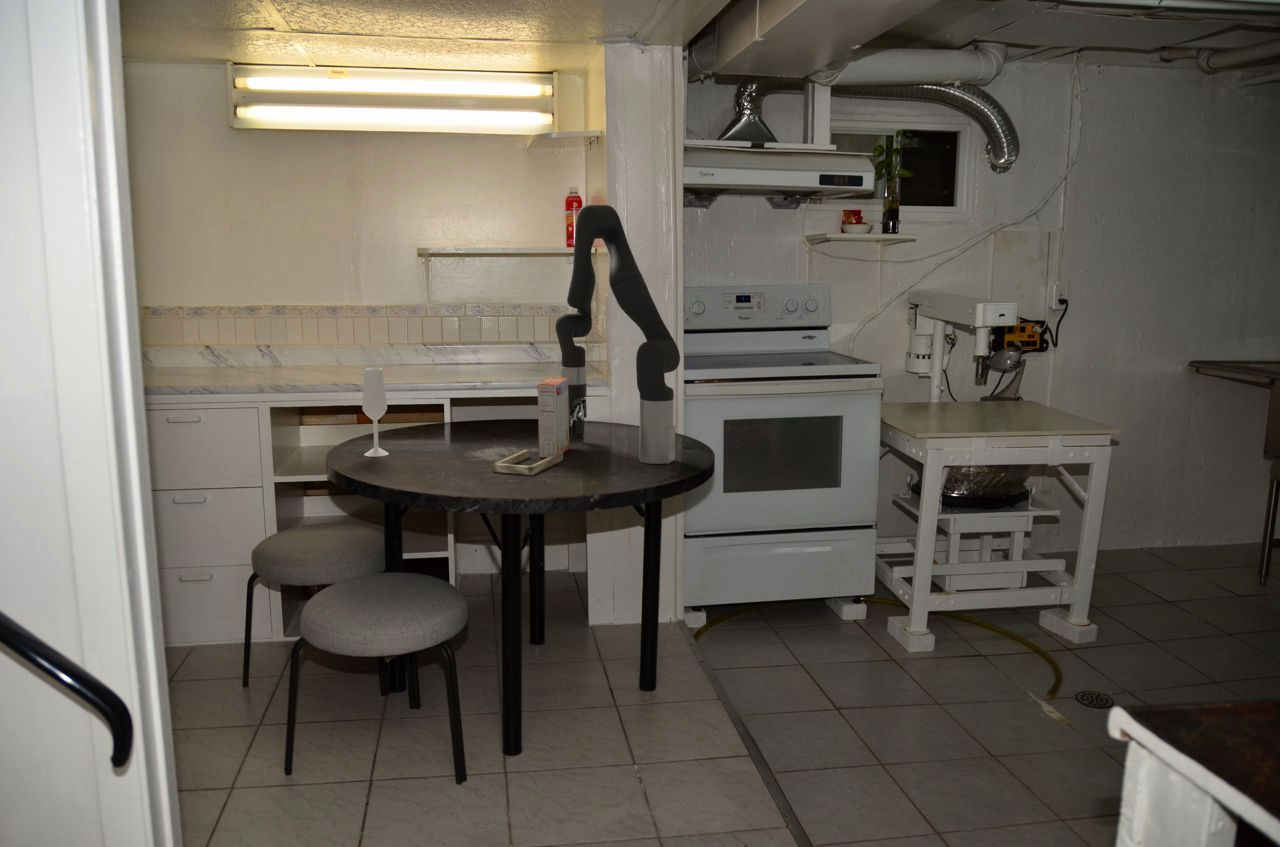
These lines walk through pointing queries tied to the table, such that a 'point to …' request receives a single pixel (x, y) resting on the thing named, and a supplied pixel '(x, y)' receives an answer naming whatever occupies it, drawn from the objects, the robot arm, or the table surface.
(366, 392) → the champagne flute
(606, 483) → the table surface
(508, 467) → the outline frame
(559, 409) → the cracker box
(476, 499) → the table surface
